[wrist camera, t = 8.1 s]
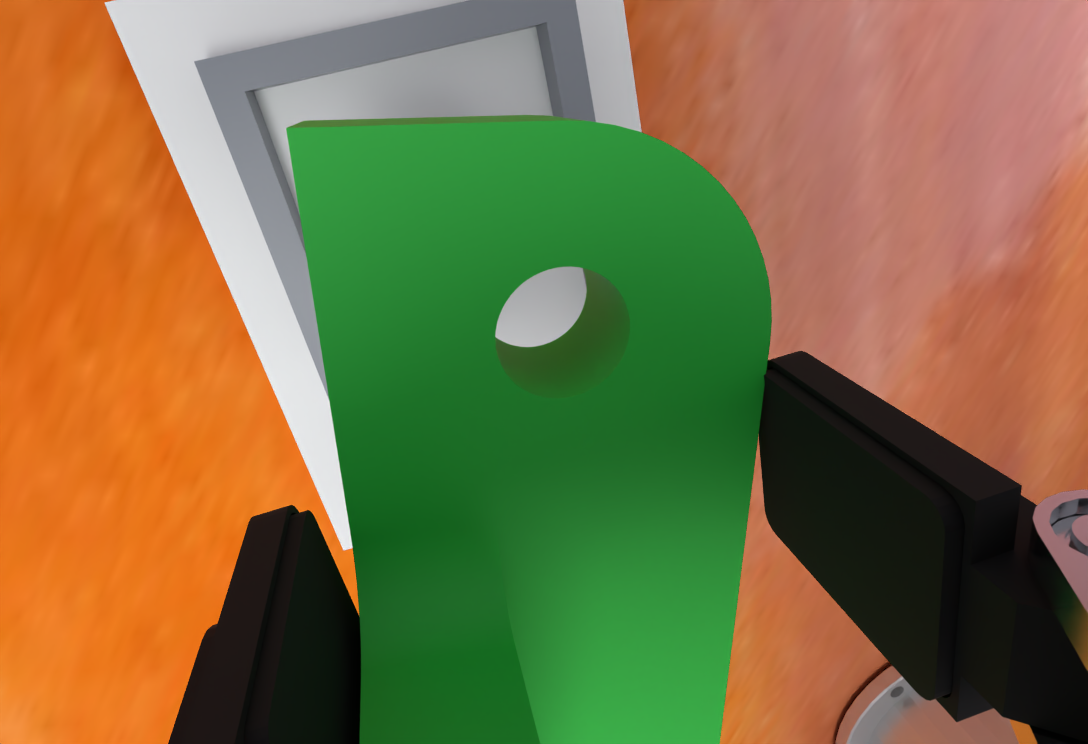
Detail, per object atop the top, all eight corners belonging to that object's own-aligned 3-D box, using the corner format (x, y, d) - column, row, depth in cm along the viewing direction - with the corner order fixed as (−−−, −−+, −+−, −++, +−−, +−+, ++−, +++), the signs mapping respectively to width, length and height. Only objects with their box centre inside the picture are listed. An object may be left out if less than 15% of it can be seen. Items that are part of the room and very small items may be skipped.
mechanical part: (673, 692, 15) (959, 1267, 8) (398, 752, 13) (423, 1506, 6) (722, 109, 10) (1615, 155, 3) (304, 120, 9) (-18, 253, 2)
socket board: (597, -94, 21) (625, -117, 19) (674, 430, 30) (700, 460, 27) (119, 7, 20) (82, -5, 17) (345, 532, 28) (341, 574, 26)
